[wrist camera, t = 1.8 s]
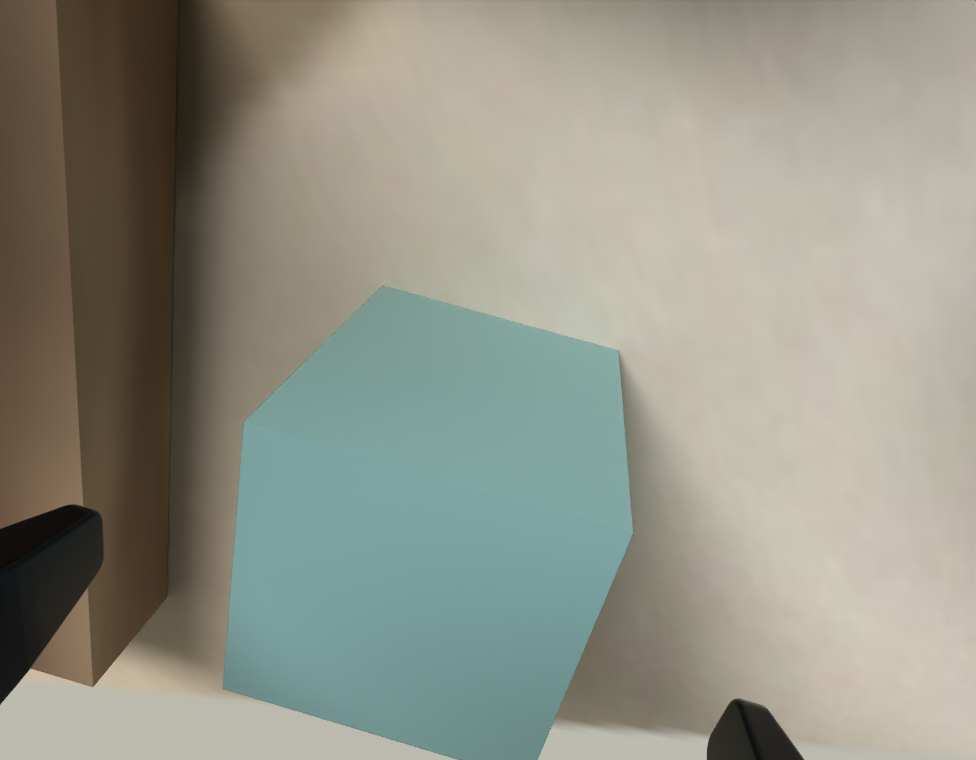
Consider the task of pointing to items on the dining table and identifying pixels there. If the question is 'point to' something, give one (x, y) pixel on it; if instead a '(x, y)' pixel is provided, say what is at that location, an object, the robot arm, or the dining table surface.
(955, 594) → the dining table surface
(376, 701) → the teal block
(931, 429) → the dining table surface
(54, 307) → the walnut base plate
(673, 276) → the dining table surface
